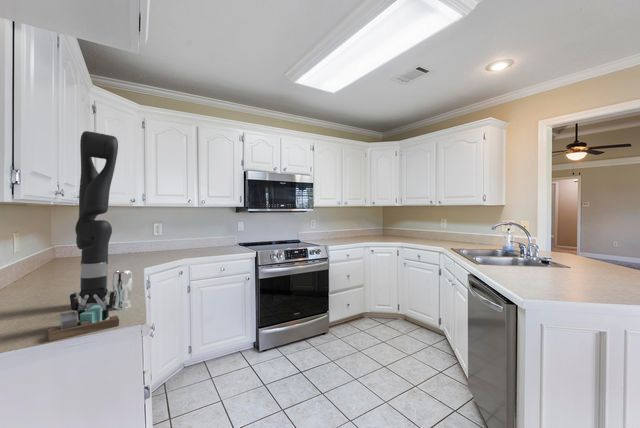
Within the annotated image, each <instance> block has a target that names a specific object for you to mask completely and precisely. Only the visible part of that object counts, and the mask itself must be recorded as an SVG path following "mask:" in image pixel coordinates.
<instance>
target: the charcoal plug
mask: <svg viewBox="0 0 640 428" xmlns="http://www.w3.org/2000/svg"><path fill="white" fill-rule="evenodd" d="M59 322H60V323H59V324H60V325H59V326H60V330H62V329H67V328H71V327H76V326H78V317H77V315H76V311H75V310H74V311H69V312H64V313H60V321H59Z"/></svg>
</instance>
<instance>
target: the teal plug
mask: <svg viewBox="0 0 640 428" xmlns="http://www.w3.org/2000/svg"><path fill="white" fill-rule="evenodd" d="M102 311H103V309H102V307H101V306H100V305H94V306H93V307H91V308H87V309H85V312H83V313H81V314H80V321H79V326H81V322H86V321H89V324H90V323H95V322H100V321H102Z"/></svg>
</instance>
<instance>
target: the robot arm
mask: <svg viewBox="0 0 640 428" xmlns="http://www.w3.org/2000/svg"><path fill="white" fill-rule="evenodd" d="M79 143H80V146H79V147H80V149H79V150H80V180H79V189H78V190H79V191H78V219H77V222H76V223H75V229H74V230H75V234H76V238H75V239H76V240H75V241H76V242H75V243H76V247H77V248H78V250H81V260H80V291H79V292H77V291H75V292H73V293H71V294H70V295H69V300H70V301H69V302H70V309H71V312H73V311H74V312H77V314H78V315H77V316H78V317H77V321H79V322H80V314H81V313H83V312H85V311H86V309H89V308H91V307H93V306H94V305H100V306H101V307H102V309H103V311H102V320H101V321H104V320H108V318H109V317H110V316H109V313H110V312H109V311H110V309H112V308H114V306H115V301H116V294H117V291H116V290H114V291H113V290H109V242H110V239H111V237H112V233H113V227H112V225H111V223H110V222H109V221H107V220H104V219H103V220H102V219H101V220H100V219H96V218H97V216H99V215H103V214H106V213H107V212H108V210H109V200H110V190H111V185H112V180H113V178H114V173H115V169H116V163H117V157H118V153H119V152H118V151H119V141H118V138H117V137H116V136H114V135H112V134H111V135H109V134H105V133H100V132H95V131H89V130H86V131H85V130H84V131H83V132H82V133H81V136H80V142H79ZM93 158H97V159H103V160H105V163H104V166H103V168H102V170H101V171H100V172H98V170H97V168H96V167H95V164H94V161H93ZM79 298H80V300H79ZM108 298H109V299H108ZM79 301H80V302H79Z"/></svg>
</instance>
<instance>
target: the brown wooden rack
mask: <svg viewBox="0 0 640 428" xmlns="http://www.w3.org/2000/svg"><path fill="white" fill-rule="evenodd" d="M118 326H120V318H119V317H118V315H116V314H115V315H111V316H109V319H106V320H104V321H102V320H101V321H100V322H95V323H90V324H89V321H86V322H81V326H80V325H77V326H76V327H71V328H67V329H62V330H61V329H58V327H53V328H48V336H47V337H48V343H49V342H50V343H51V342H54V341H59V340H64V339H68V338H72V337H77V336H79V335H84V334H88V333H93V332H97V331H98V332H99V331H101V330H106V329H111V328H115V327H118Z"/></svg>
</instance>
